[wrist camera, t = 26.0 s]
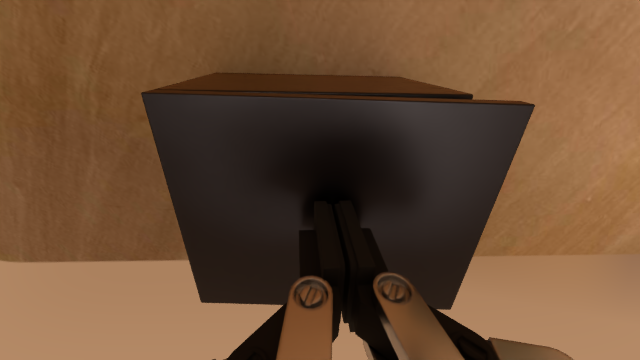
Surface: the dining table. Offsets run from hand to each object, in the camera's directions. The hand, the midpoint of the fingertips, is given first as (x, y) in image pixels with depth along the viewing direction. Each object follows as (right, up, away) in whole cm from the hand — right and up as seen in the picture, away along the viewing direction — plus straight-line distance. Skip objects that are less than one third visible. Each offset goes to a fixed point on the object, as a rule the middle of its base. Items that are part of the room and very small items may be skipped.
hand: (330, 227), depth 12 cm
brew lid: (0, 0, +1) cm, 1 cm away
